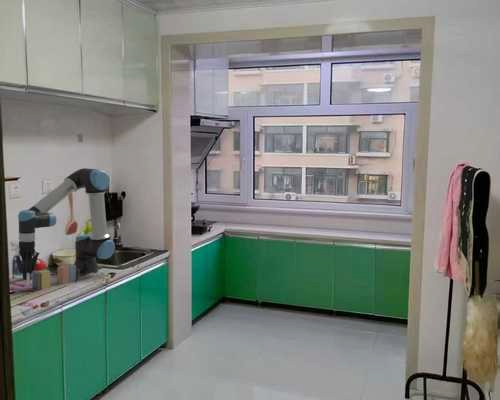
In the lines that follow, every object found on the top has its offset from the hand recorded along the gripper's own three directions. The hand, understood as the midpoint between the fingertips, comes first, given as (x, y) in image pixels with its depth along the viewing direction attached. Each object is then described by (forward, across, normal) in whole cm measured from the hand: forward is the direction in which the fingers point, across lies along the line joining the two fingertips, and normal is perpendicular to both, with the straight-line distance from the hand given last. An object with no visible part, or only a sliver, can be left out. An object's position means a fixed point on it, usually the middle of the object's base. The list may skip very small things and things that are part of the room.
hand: (26, 285), depth 243 cm
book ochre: (+3, -10, 0) cm, 10 cm away
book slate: (+3, -26, 0) cm, 27 cm away
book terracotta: (+3, -22, 0) cm, 22 cm away
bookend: (+3, -4, 0) cm, 5 cm away
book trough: (+5, -16, 0) cm, 17 cm away
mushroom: (+5, -20, -22) cm, 30 cm away
